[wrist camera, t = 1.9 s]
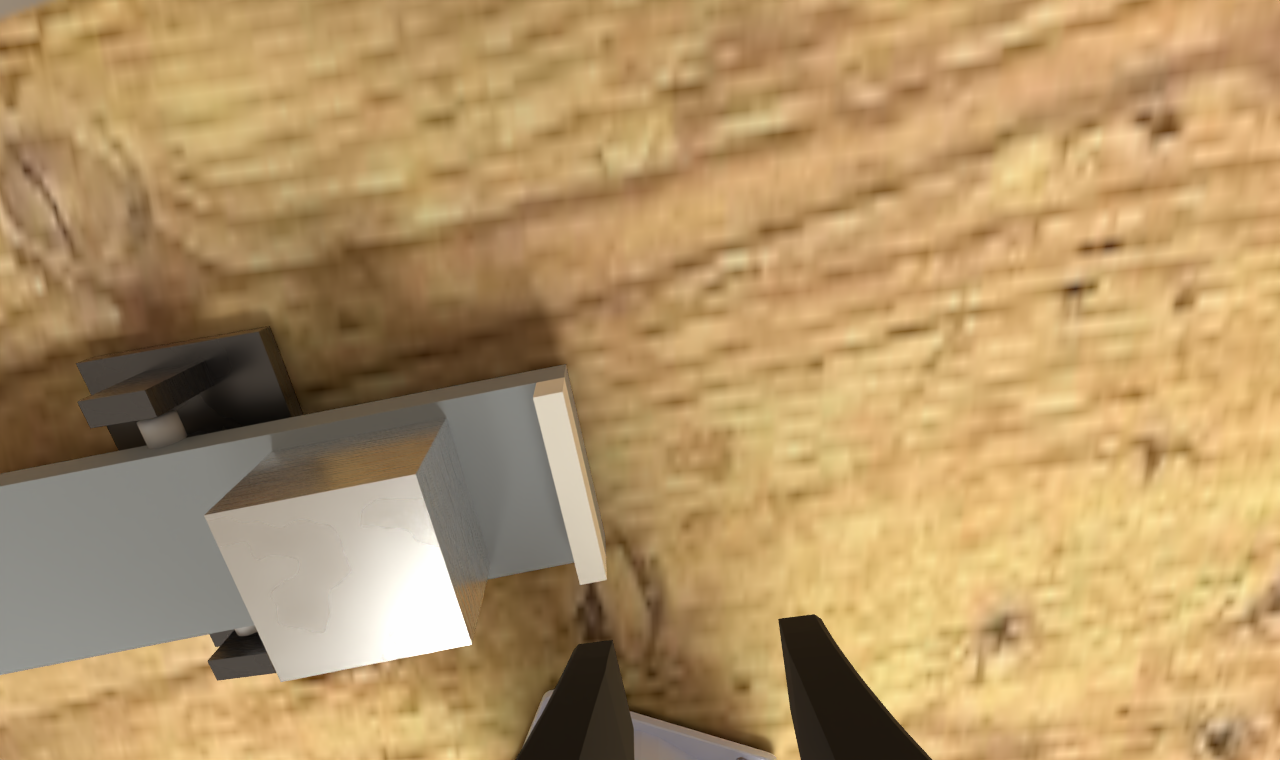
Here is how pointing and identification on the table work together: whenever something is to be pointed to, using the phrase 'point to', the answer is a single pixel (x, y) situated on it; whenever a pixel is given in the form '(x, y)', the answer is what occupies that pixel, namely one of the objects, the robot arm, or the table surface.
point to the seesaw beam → (215, 463)
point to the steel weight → (356, 549)
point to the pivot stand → (196, 418)
